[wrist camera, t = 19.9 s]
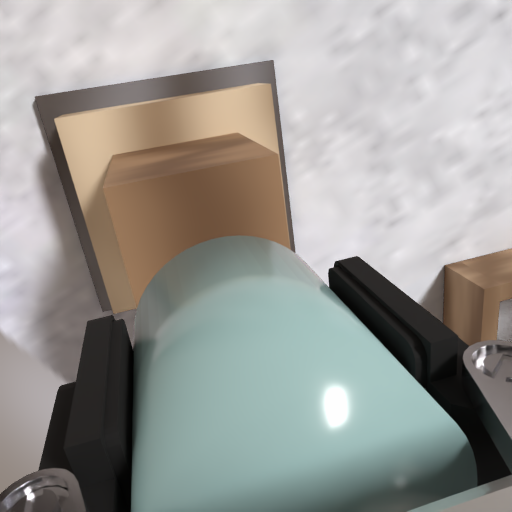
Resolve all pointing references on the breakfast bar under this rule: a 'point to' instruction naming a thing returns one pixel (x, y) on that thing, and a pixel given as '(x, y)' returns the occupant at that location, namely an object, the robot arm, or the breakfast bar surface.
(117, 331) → the robot arm
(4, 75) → the breakfast bar surface
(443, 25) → the breakfast bar surface
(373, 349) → the teal capsule
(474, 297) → the mug tray
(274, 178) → the walnut block
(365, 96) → the breakfast bar surface
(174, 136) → the plinth
